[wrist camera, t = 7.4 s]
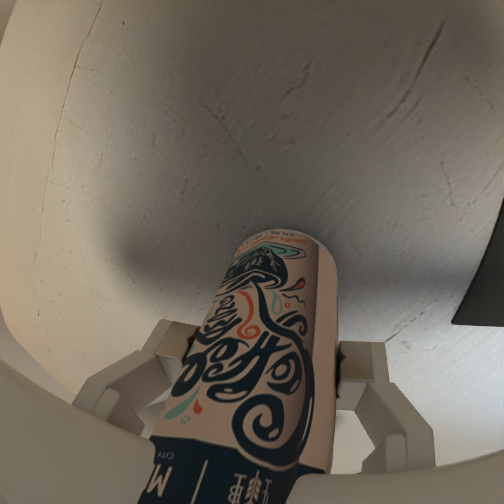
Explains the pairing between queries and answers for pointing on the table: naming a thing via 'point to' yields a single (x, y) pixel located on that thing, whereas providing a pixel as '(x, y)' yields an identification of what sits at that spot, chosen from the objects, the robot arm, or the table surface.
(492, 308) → the mat
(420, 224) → the table surface
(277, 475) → the beer can
